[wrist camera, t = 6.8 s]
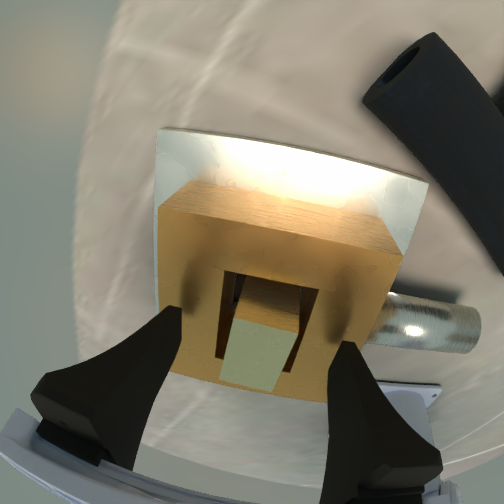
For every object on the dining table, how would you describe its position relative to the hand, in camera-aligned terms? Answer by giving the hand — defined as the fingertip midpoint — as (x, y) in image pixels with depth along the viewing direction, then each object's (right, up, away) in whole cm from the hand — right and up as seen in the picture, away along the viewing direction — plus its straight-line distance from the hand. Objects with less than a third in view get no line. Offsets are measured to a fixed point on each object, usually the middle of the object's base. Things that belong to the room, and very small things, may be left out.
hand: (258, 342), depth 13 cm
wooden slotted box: (+4, +2, +5) cm, 7 cm away
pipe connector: (+14, +11, -1) cm, 18 cm away
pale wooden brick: (+1, +3, +5) cm, 6 cm away
